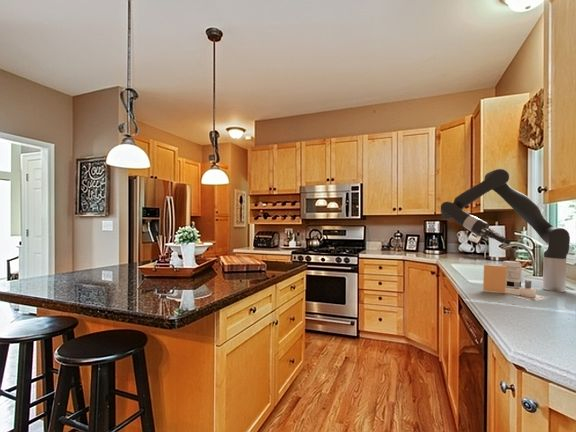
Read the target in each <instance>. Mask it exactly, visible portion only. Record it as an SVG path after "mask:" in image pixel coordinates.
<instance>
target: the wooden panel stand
mask: <svg viewBox="0 0 576 432" xmlns="http://www.w3.org/2000/svg"><path fill="white" fill-rule="evenodd" d="M482 278H483V279H482V280H483V281H482V283H483V284H482V290H483V291H484V292H494V293H503V294H506V293H511V294H520V295H522V296H526V297H536V295H537V289H536V288H533V287H531V288H525V286H521V287H520V290H519V289H509V288H506V266H502V265H491V264H483V277H482Z"/></svg>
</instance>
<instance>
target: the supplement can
mask: <svg viewBox="0 0 576 432" xmlns="http://www.w3.org/2000/svg"><path fill="white" fill-rule="evenodd" d="M501 266H506V288H509V289H519V290H520V287H522V273H523V272H522V270H523V269H522V267H523V266H522V264H521V262H520V261H513V260H503V262H502V263H501Z"/></svg>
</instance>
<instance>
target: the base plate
mask: <svg viewBox="0 0 576 432" xmlns="http://www.w3.org/2000/svg"><path fill="white" fill-rule="evenodd" d="M524 287H525V288H532V281H531V280H524ZM504 295H506V296H510V297H514V298H519V299H521V300H526V301H529V302H533V301H534V302H535V301H541V300H542V301H543V300H548V299H549V300H550V299H552V297H549V296H546V295H541V294H536V297H526V296H522V295H520V294H511V293H504Z"/></svg>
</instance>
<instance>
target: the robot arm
mask: <svg viewBox="0 0 576 432" xmlns="http://www.w3.org/2000/svg"><path fill="white" fill-rule="evenodd" d="M483 178H484V179H483V180H482V181H481V182H480V183H478V184H476V185H474V186H473V187H470V188H468V189H466V190H465V191H463V192H462V193H461V194H459V195H457V196H456V197H455V198H454V200H453V202H452V201H444V202H442V203H441V205H440V213H441V216H442V218H444V219H446V220H449V219H450V220H451V219H453V220H454V221H455V223H457V224H459V225H460V226H462V227H464V228H465V230H466V229H467V231H470V232H471V233H474V234H475V235H477V236H479V237H482V236H483V235H484V236H485V237H488V238H489V239H493V240H496V241H497V242H499V243H501V244H506V245H508V246H509V245H510V244H511V243H512V241H511V240H509V239H508V238H505V237H504V235H501V234H500V233H499V232H497V231H495V230H494V229H491V228H489V227H490V226H489V225H490V224H489V223H488V222H487V221H484V220H483V219H480V218H478V217H477V216H475V215H472V214H470V213H468V212H467V211H464V210H463V209H464V208H466V207H467V206H469V205H470V204H472V203H473V202H475V201H476V200H479V198H481V197H482V196H483V195H485V194H487V193H488V192H490V191H493V192H495V193H496V194H498V195H499V196H500V197H501V198H502V199H503V200H504V202H506V203H507V204H508V205H509V206H510V207H511V208H512V209H513V211H514V212H515V213H516V214H518V216H520V217H521V218H522V219H523V220H524V221H525V222H526V223H527V224H528V225H529V226H530V227H532V229H533V230H534V231H535V233H536V234H537V235H538V236H539V237H540V239H541V240H542V241H543V242H544V243H546V244H548V247H547V249H546V250H544V251H543V263H542V265H543V266H542V268H543V269H542V286H541V288H542V289H543V290H545V291H550V292H557V293H565V292H566V286H567V285H566V283H567V282H566V281H567V278H566V277H567V273H566V272H567V256H568V254H569V252H570V243H571V237H570V233H569V231H568V230H567V229H566V228H563V227H555V226H553V225H552V224H550V222H548V221H547V220H546V219H545V218H544V216H543V214H542V211H541V210H540V208H539V206H538V204H536V202H534V201H533V199H531V198H530V197H528V196H527V195H526V194H524V193H523V192H520V191H518V190H517V189H514V188H512V186H510V185H509V184H508V182H509V179H510V173H509V172H508V171H507V170H506V169H503V168H495V169H494V170H492V171H489V172H488V173H486V174H485V175H484V177H483Z"/></svg>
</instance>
